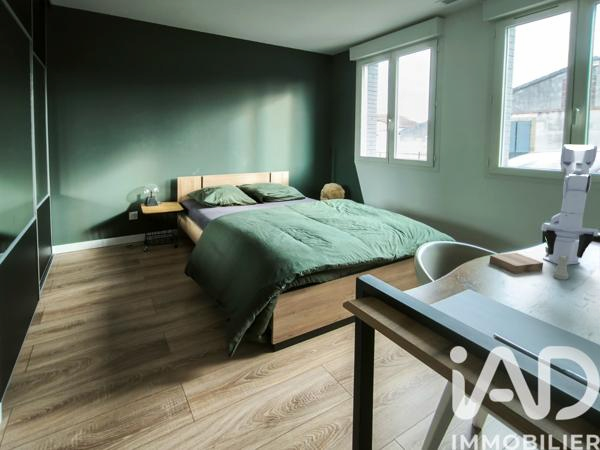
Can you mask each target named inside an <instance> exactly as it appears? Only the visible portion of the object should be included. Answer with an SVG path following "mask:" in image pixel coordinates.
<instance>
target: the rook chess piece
mask: <svg viewBox="0 0 600 450" xmlns="http://www.w3.org/2000/svg"><path fill="white" fill-rule="evenodd" d="M568 257H569V256H568V255H564V256H562V254H561V255H559V257H558V259H559V261H558V264H557V266H556V268H555V270H554V271H553V272H552V273H553V274H552V277H553V278H554V279H556V280H560V281H567V280H568V279H569V276H570V275H569V273H568V271H567V270H568V268H567V267H568V265H567V264H568V263H567V261H568V260H569V258H568Z"/></svg>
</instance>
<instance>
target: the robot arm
mask: <svg viewBox="0 0 600 450" xmlns="http://www.w3.org/2000/svg"><path fill="white" fill-rule="evenodd" d="M597 152H598V146H597V144H566V143H565V144H564V145H562V149H561V155H560V162H559V163H560V168H562V169H564V170H565V171H566V175H565V176H564V179H563V187H562V192H563V193H562V198H563V199H562V203H561V208H560V212H559V213H557V214H555V215H553V216H552V217H551V219H550V223H549V224H541V227H540V231H542V232H543V234H544V236H545V240H546V242H547V248H548V254H549V255H548V256H544V257H542V260H545V261H548V262H550V263H553V264H556V265H558V261H559V259H558V257H559V255H561V254H562V256H564V255H568V256H569V257H568V258H569V260H568V261H567V263H568V264H567V266H570V265H577V264H580V263H581V262H580V261H579V259H582V257H583V256H584V254H585V252H586V249H587V248H588V247H589V246H590V244H591V243H592V242H593V241H594V240H595V237H598V235H599V229H596V228H590V227H589V228H586V227H583V219H584V212H585V206H586V201H587V194H589V192H590V189H591V184H592V174H591V173H590V169H591V168H592V167H593V165H594V163H595V161H596V157H597Z"/></svg>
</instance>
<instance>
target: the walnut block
mask: <svg viewBox="0 0 600 450" xmlns="http://www.w3.org/2000/svg"><path fill="white" fill-rule="evenodd" d="M489 264H491V265H493V266H495V267H496V268H497V267H498V268H500V269H502V270H505V271H507V272H508V273H509V272H510V273H511V274H514V275H518V274H524V273H525V274H528V273H532V272H533V273H535V272H542V271H543V267H544V262H543V261H539V260H537V259H533V258H531V257H529V256H526V255H523V254H520V253H517V252H511V253H501V254H492V255H491V254H490V256H489Z"/></svg>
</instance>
